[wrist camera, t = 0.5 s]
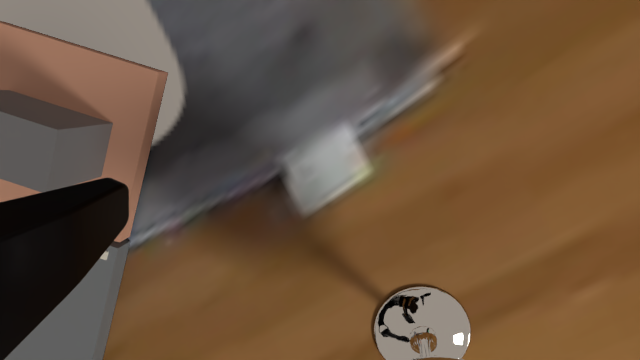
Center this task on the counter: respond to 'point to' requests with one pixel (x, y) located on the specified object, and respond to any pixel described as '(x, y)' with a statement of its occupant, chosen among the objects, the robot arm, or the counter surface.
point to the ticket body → (80, 315)
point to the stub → (72, 116)
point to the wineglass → (422, 326)
